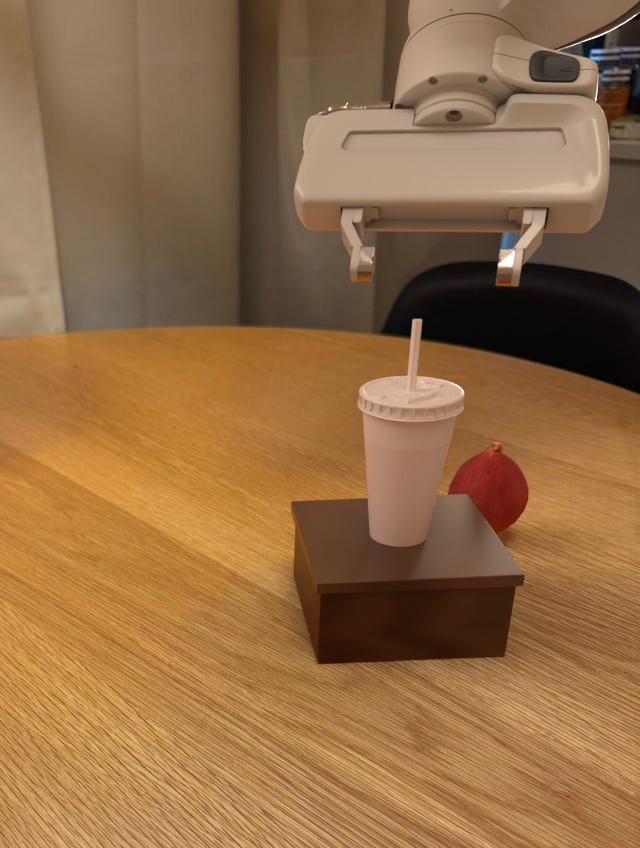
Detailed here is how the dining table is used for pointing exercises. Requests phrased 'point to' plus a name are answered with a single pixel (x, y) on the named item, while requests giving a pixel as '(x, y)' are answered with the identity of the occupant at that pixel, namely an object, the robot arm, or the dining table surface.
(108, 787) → the dining table surface
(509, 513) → the onion
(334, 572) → the walnut box
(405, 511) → the smoothie
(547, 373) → the dining table surface
